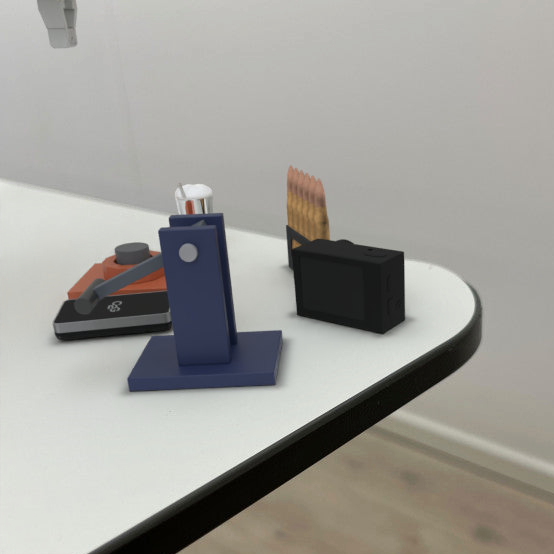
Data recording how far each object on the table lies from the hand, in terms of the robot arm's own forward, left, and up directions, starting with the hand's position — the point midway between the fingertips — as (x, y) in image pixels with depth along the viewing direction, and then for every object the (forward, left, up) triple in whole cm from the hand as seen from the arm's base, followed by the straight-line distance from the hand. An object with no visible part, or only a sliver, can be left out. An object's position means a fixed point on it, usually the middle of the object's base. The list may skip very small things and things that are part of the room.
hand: (64, 47), depth 76 cm
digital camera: (+28, -11, -26) cm, 39 cm away
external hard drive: (+4, -11, -26) cm, 28 cm away
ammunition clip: (+23, +1, -26) cm, 34 cm away
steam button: (+4, -2, -22) cm, 22 cm away
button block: (+4, -2, -25) cm, 26 cm away
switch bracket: (+15, -22, -25) cm, 37 cm away
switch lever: (+11, -22, -17) cm, 30 cm away
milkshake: (+9, +11, -26) cm, 29 cm away
